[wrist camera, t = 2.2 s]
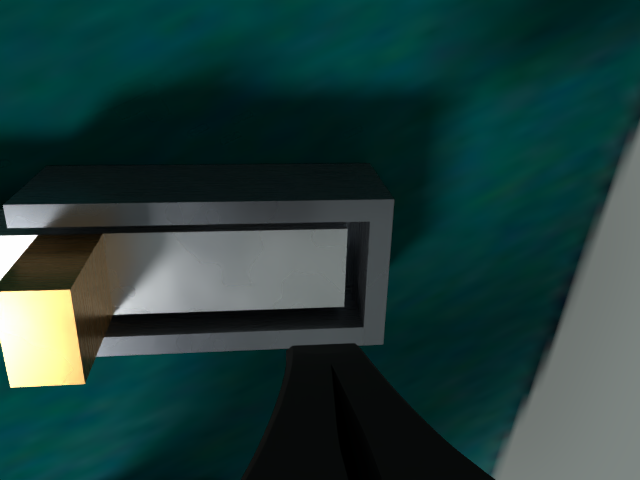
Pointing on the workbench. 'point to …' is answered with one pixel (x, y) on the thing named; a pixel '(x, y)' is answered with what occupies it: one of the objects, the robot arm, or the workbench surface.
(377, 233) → the sleeve
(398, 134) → the workbench surface
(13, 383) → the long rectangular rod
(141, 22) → the workbench surface
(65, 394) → the workbench surface
